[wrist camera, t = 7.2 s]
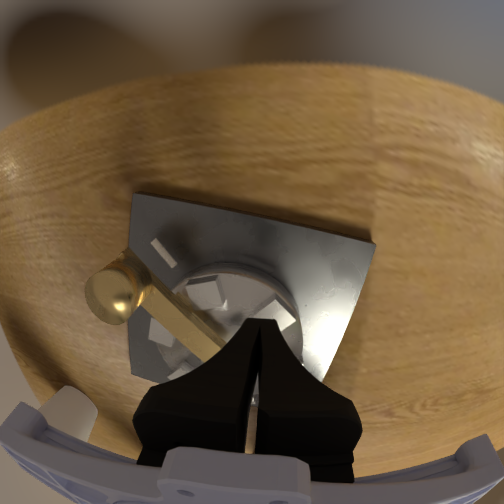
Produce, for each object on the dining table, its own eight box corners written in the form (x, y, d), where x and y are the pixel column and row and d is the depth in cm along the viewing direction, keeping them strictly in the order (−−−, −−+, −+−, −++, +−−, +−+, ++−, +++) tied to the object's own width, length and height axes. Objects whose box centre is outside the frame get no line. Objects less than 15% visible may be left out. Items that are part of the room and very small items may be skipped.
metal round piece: (328, 333, 21) (345, 400, 14) (231, 393, 24) (218, 456, 17) (191, 189, 19) (144, 206, 12) (107, 283, 22) (56, 328, 15)
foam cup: (116, 429, 31) (82, 496, 18) (70, 414, 32) (34, 470, 19) (91, 384, 28) (41, 457, 16) (44, 370, 29) (-4, 427, 16)
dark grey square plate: (304, 406, 26) (305, 413, 25) (135, 368, 26) (131, 374, 25) (372, 241, 20) (376, 245, 19) (138, 191, 20) (132, 193, 19)
